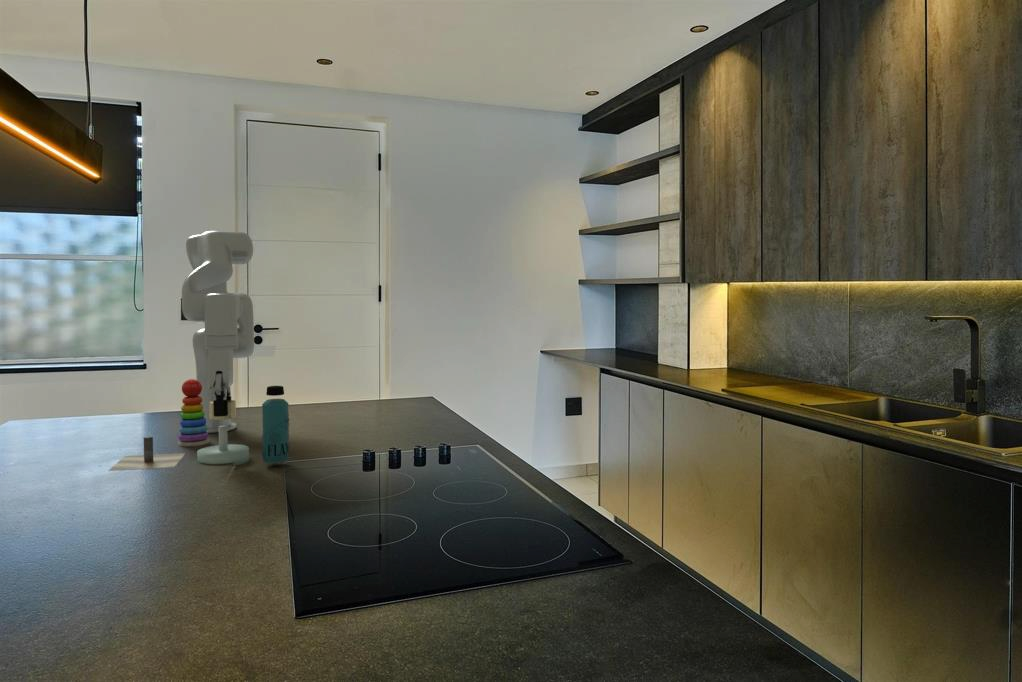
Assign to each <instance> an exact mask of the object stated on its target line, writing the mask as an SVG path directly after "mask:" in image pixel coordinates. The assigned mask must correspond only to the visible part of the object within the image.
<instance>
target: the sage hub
mask: <svg viewBox="0 0 1022 682" xmlns="http://www.w3.org/2000/svg"><path fill="white" fill-rule="evenodd" d="M228 441H229V440H228V431H227V426H219V432H218V444H217V445H211V446H205V447H203V448H200V449H198V450H197V451H196V456H197V458H196V459H197V460H196V461H197V462H198V463H200V464H208V465H221V464H223V465H224V464H231V463H232V465H231V466H232V467H236V466H240V465H243V464H247V463H248V462H249V461H250V452H249V451H250V448H249V446H247V445H245V444H237V443H236V444H235V443H233V444H232V443H230V444H229V443H228Z"/></svg>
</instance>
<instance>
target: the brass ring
mask: <svg viewBox="0 0 1022 682" xmlns="http://www.w3.org/2000/svg"><path fill="white" fill-rule="evenodd" d="M236 417H237V401H236V400H233V399H231V400H228V415H227V416H218V417H215V416H214V407H213V401H211V402H209V419H214V420H222V419H231V420H232V419H235V418H236Z"/></svg>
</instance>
